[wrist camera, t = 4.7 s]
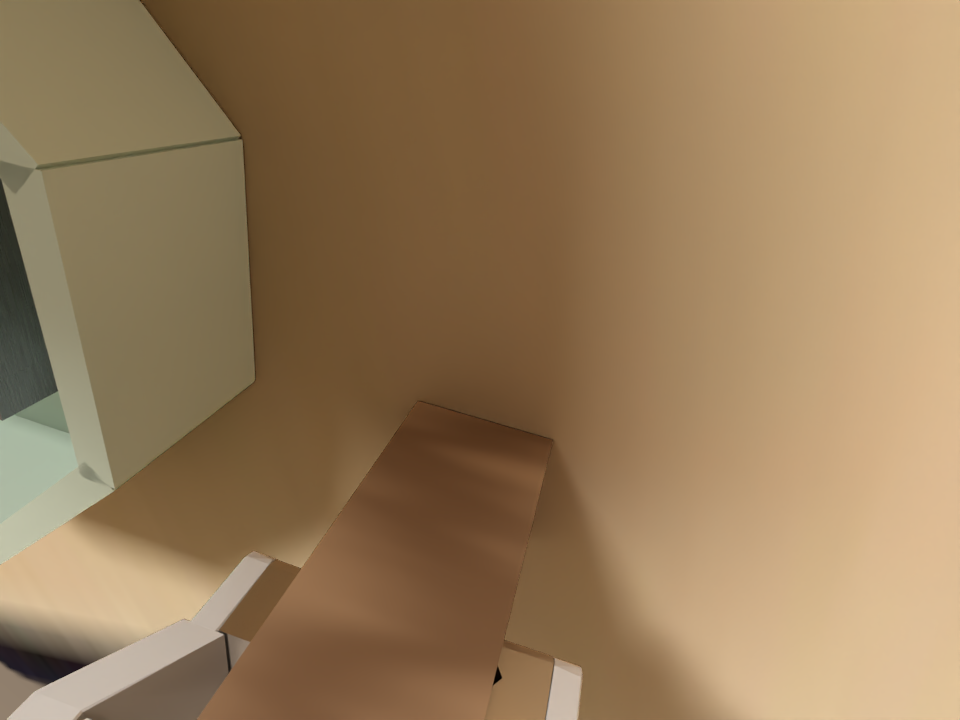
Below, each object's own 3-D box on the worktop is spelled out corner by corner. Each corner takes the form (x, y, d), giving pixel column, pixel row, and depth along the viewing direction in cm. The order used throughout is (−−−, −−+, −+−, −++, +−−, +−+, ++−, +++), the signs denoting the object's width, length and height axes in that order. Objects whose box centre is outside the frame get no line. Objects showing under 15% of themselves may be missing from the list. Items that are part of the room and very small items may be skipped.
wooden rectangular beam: (553, 439, 13) (238, 1714, 3) (524, 540, 15) (263, 1565, 5) (417, 400, 14) (-254, 1366, 3) (405, 501, 15) (-68, 1347, 5)
